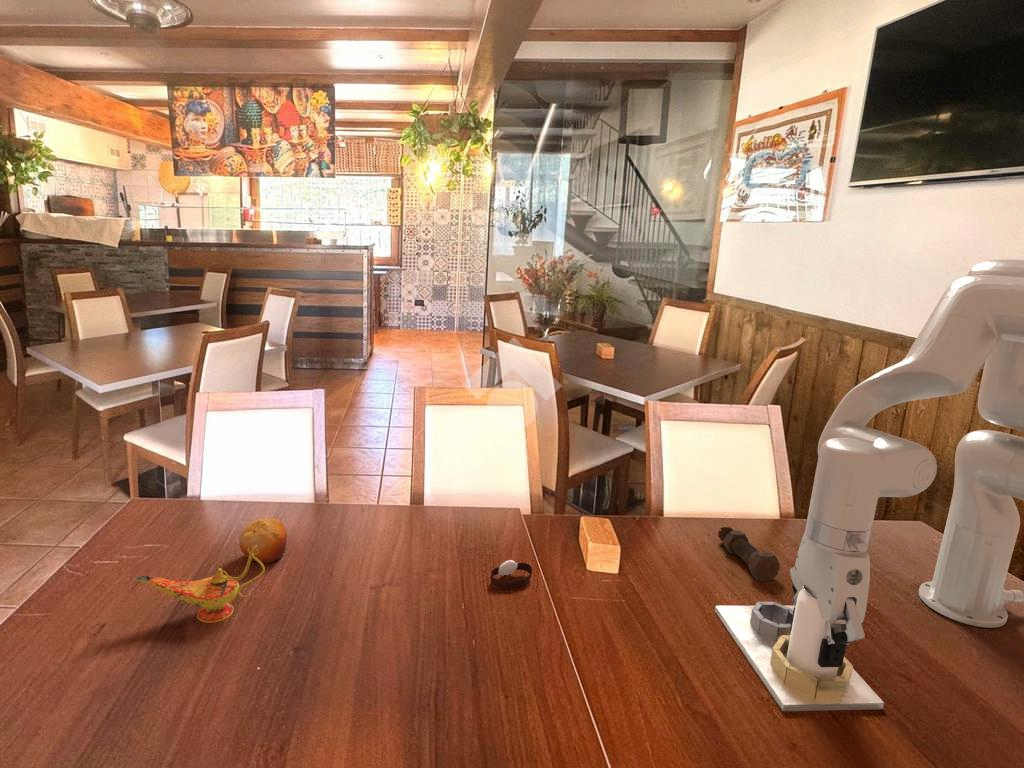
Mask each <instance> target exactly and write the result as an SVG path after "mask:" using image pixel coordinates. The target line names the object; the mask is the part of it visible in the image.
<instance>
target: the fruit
mask: <svg viewBox="0 0 1024 768" xmlns="http://www.w3.org/2000/svg"><path fill="white" fill-rule="evenodd" d="M287 541H288V532H287V530H286V527H285V525H284V523H283V521H280V520H278V519H276V518H273V517H263V518H262V517H261V518H259V519H257V520H255V521H252V522H250V524H248V525H247V526H245V528H244V529H243V530H242V531H241V532H240V536H239V541H238V542H239V543H238V544H239V548H240V551H241V552H242V554H244V556H245V557H247V558H248V557H249V554H250V553H249V552H248V550H247V549H248V548H249V547H255V546H256V545H257V547H256V548H257V549H258V554H256V555H254V556H255V557H256V558H257V559H258V560H260V561H261V562H262V563H263V564H270V563H273V562H274V561H276V560H278V559H280V558H281V557H282V556H283V555H284V554H286V549H287ZM252 549H253V548H249V551H250V552H251V551H252ZM253 553H257V550H256V549H255V550H254V552H253ZM249 558H251V557H249ZM251 561H253V562H257V561H256V560H255V559H254V558H253V557H252V559H251ZM257 563H258V562H257Z"/></svg>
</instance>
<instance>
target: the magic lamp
mask: <svg viewBox="0 0 1024 768" xmlns="http://www.w3.org/2000/svg"><path fill="white" fill-rule="evenodd" d="M256 547H257V545H256V546H255V547H249V548H253V549H252V551H251V552H250V551H249V548H248V549H247V550H248V552H249V553H250V554H249V557H251V558H249V557H247V562H246V565H245V568H244V570H243V572H242V573H241V574H240V575H238V576H236V577H235V576H231V575H229V574H228V573H227V572H226V570H224V569H222V568H221V567H219V568H217V569H216V572H215V574H214V575H212V576H210V577H206V578H201V579H196V580H190V581H189V580H188V581H187V580H186V581H179V580H178V581H177V580H172V579H168V578H164V577H159V576H152V575H140V576H137V577H135V578H134V581H135V582H141V583H144V584H146V585H149V586H151V587H153V588H155V589H157V590H158V591H160V592H161V593H163V594H166V596H169V597H172V598H174V599H176V600H179V601H181V602H185V603H188V604H190V605H192V606H195V607H198V608H201V609H199V611H198V612H197V615H196V618H197V620H199V621H200V622H202V623H207V624H208V623H209V624H210V623H211V624H212V623H217V622H221V621H224V620H226V619H227V618H229V617H230V616H232V614H233V613H234V610H235V608H234V605H232V604H231V603H230V602H232V601H233V600H234V599H235V598H236V597H237V595H238V596H240V597H242V598H246V597H249V595H250V591H249V590H247V592H248V594H247V595H242V593H241V592H240V591H241V589H242V588H244V587H245V586H247V585H249V584H250V583H251V582H252V583H253V581H255V580H257V579H258V578H260V577H261V576H263V574H264V573H265V571H266V567H265V565H264V563H262V562H261V561H260V560H258V559H257V558H256V557H255V556H254V555H256V554H258V549H257V548H256ZM255 549H256V550H257V553H253V552H254V550H255ZM252 557H253V558H254V559H255V560H256V561H257V563H258V564H259V565H260V566H261V567H262V571H261V572H260V573H259V574H258V575H257V576H255V577H254V578H251V579H249V580H247V581H246V582H244V583H243V584H241V585H240V583H239V581H241V580H242V579H243V578H244V577H245V576H246V574H247V573H248V570H249V568H250V567H251V566H250V565H251V562H252V560H251V559H252ZM256 561H255V562H256Z"/></svg>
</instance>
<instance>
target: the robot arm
mask: <svg viewBox="0 0 1024 768" xmlns="http://www.w3.org/2000/svg"><path fill="white" fill-rule="evenodd" d="M983 366H984V367H983ZM982 368H983V370H982V376H981V379H980V386H979V392H978V397H977V398H978V399H977V411H978V414H979V416H980V417H981V418H982V419H983V420H985V421H987V422H989V423H991V424H995V425H997V426H1001V427H1005V428H1008V429H1011V430H1015V431H1018V432H1023V433H1024V259H992V260H987V261H982V262H978V263H977V264H975V265H973V266H972V267H971V268H970V270H969V272H968V273H967V276H964V277H963V276H962V277H960V278H957V279H955V280H954V281H953V282H952V283H950V284H949V285H948V287H946V289H945V291H944V292H943V294H942V295H941V297H940V299H939V300H938V301H937V303H936V306H935V307H934V308H933V310H932V312H931V313H930V315H929V317H928V319H927V321H926V322H925V324H924V325H923V327H922V329H921V331H920V332H919V333H918V335H917V337H916V339H915V340H914V342H913V343H912V345H911V346H910V349H909V350H908V352H907V354H906V356H905V357H904V358H903V359H902V360H901V361H899V362H898V363H896V364H894V365H891V366H889V367H886V368H884V369H883V370H881V371H879V372H877V373H875V374H873V375H871V376H869V377H868V378H866V379H865V380H863V381H861V382H860V383H858V384H857V385H855V386H854V387H853V388H852V389H851V390H849V391H848V392H847V393H846V394H845V395H844V396H843V397H842V399H841V400H840V401H839V403H838V405H837V406H836V407H835V409H834V411H833V413H832V414H831V416H830V417H829V418H828V421H827V422H826V425H825V426H824V428H823V431H822V432H821V434H820V437H819V440H818V444H817V456H818V457H817V462H816V469H815V474H814V480H813V485H812V491H811V496H810V502H809V508H808V512H807V513H808V514H807V519H806V524H805V530H804V533H803V536H802V538H801V540H800V543H799V548H798V551H797V555H796V560H795V564H794V566H793V567H790V569H789V572H790V576H791V581H792V586H791V588H792V591H793V595H794V596H793V597H792V604H793V605H792V606H796V603H797V598H798V594H799V592H800V591H801V590H802V589H803V585H804V588H805V589H806V590H807V591H808V592H809V593H810V594H811V595H812V596H813V597H815V598H817V604H818V607H819V610H820V615H821V616H822V617H823V618H824V619H825V620H826V623H825V631H826V639H822V642H821V647H820V652H819V658H818V664H819V666H820V667H841V666H842V664H843V659H844V657H845V655H846V650H847V645H850V644H851V643H855V642H856V641H858V640H863V639H864V638H865V637H866V636H865V635H866V634H865V631H864V628H863V624H862V623H863V622H864V621H865V617H866V612H867V611H866V610H867V605H868V599H869V598H868V597H869V593H870V592H869V590H870V583H871V582H870V580H871V559H870V554H869V553H868V552H867V551H868V550H869V549H868V548H869V543H870V539H871V538H870V537H871V534H872V533H871V532H872V530H873V529H872V528H873V525H874V524H873V523H874V519H875V515H876V511H877V504H878V499H879V498H882V497H883V498H908V497H914V496H916V495H919V494H920V493H922V492H924V491H926V489H928V488H929V487H930V486H931V485H932V483H933V481H934V480H935V478H936V476H937V473H938V472H937V471H938V465H937V463H938V462H937V459H936V457H935V455H934V454H933V452H932V451H931V450H930V449H929V448H927V447H926V446H924V445H923V444H920V443H918V442H915V441H913V440H910V439H906V438H903V437H900V436H897V435H893V434H891V433H889V432H884V431H881V430H877V429H874V428H871V427H868V426H867V424H869V422H870V421H871V420H872V419H873V417H875V416H876V415H877V414H879V413H881V412H882V411H884V410H885V409H888V408H890V407H893V406H896V405H898V404H902V403H907V402H913V401H919V400H928V399H934V398H935V399H936V398H941V397H942V398H943V397H949V396H955V395H959V394H961V393H964V392H966V391H967V390H969V389H970V388H971V386H972V385H973V383H974V382H975V379H976V378H977V376H978V375H979V372H980V371H981V369H982ZM1014 499H1018V500H1021V501H1024V437H1022V436H1018V435H1015V434H1011V433H1008V432H1007V433H1006V432H1003V431H998V430H991V429H979V430H973V431H970V432H968V433H967V434H965V435H964V436H963V437H962V438H961V439H960V441H959V442H958V444H957V446H956V450H955V455H954V481H953V491H952V497H951V501H950V505H949V511H948V515H947V518H946V524H945V527H944V530H943V531H944V532H943V535H942V539H941V543H940V547H939V552H938V554H937V555H938V556H937V559H936V560H937V561H936V563H935V569H934V572H933V578H932V580H929V581H926V582H923V583H921V585H920V586H919V589H918V596H919V598H920V599H921V600H922V601H923V602H924V604H926V605H927V606H928V607H929V608H931V609H932V610H934V611H935V612H936V613H938V614H940V615H943V616H944V617H947V618H948V619H950V620H953V621H956V622H959V623H962V624H965V625H969V626H973V627H980V628H989V629H992V628H1000V627H1003V626H1004V625H1006V623H1007V621H1008V616H1009V615H1008V612H1007V610H1006V609H1005V608H1004V604H1008V603H1009V602H1012V603H1013V602H1017V603H1018V602H1019V603H1020V602H1024V592H1023V591H1022V590H1020V589H1008V590H1007V589H1005V586H1004V585H1005V582H1006V579H1007V575H1008V571H1009V568H1010V563H1011V560H1012V556H1013V553H1014V548H1015V545H1016V542H1017V538H1018V534H1019V531H1020V526H1021V517H1020V513H1019V509H1018V507H1017V505H1016V502H1015V500H1014ZM795 608H796V607H794V610H793V615H792V621H791V626H790V631H791V630H792V624H793V619H794V613H795ZM842 613H844V618H840V619H837V617H840V615H841V614H842ZM834 624H842V626H841V632H837V633H835V631H834Z"/></svg>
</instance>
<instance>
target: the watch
mask: <svg viewBox="0 0 1024 768" xmlns="http://www.w3.org/2000/svg"><path fill="white" fill-rule="evenodd" d="M532 567H533V566H531V565H530V564H529V563H526V562H515V560H512V559H508V560H506V561H504V562H502V563H501V564H500V566H498V567H495V568H493V569H492V570H491V572H490V582H491V584H492V585H493V587H496V588H499V589H514V588H519V587H520V585H521V586H523V585H522V584H524V585H526V584H527V583H529V581H530V580H531V577H532V574H533V568H532ZM519 570H520V571H525V572H527V573H528V576H525V577H522V578H520V579H515V580H510V581H508V580H506V581H505V580H504V581H503V580H500V579H497V578H496V577H494V576H497V575H500V576H504V575H507V576H510V575H511V574H513V573H514V572H515V571H519ZM509 574H510V575H509ZM504 577H505V576H504ZM525 583H526V584H525ZM518 586H519V587H518ZM511 587H512V588H511ZM513 587H514V588H513Z"/></svg>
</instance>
